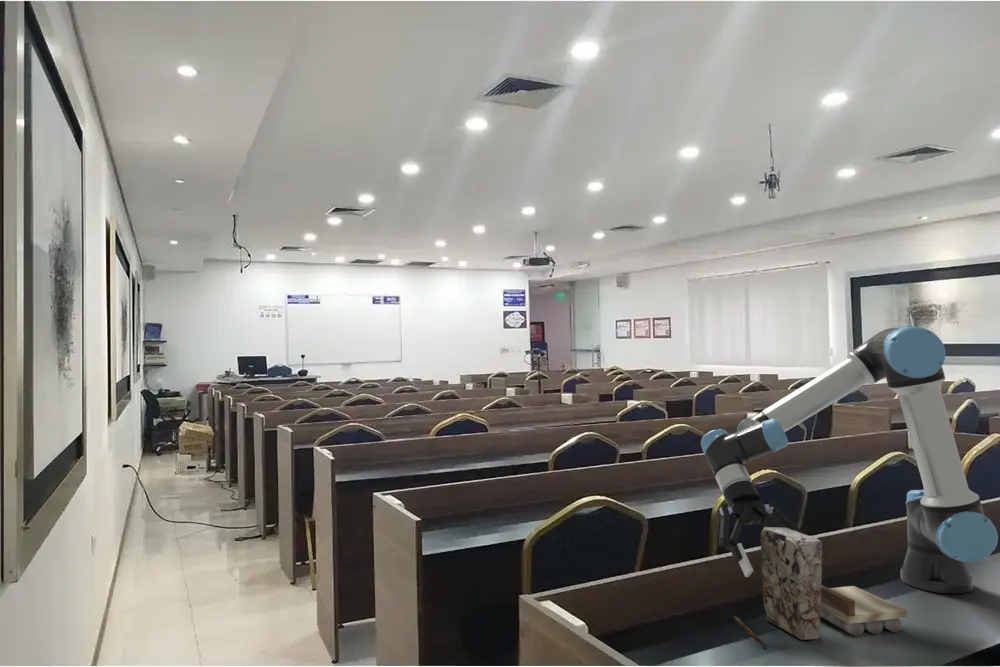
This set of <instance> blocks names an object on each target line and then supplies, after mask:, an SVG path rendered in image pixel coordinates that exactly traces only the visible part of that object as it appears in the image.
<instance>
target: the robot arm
mask: <svg viewBox="0 0 1000 667" xmlns="http://www.w3.org/2000/svg"><path fill="white" fill-rule="evenodd" d="M945 360H946V347H945V345H944V343H943V341H942V340H941V338H940V337H939V336H938V335H937V334H936V333H935V332H934V331H932V330H929V329H928V328H926V327H925V328H924V327H920V326H916V325H907V326H905V325H904V326H900V327H891V328H887V329H883V330H881V331H879V332H877V333H876V334H875V335H873V336H872V337H870V338H869V339H867V340H866V341H865V342H863V343H862V344H860V345H859V346H857V347H856V348H854V349H853V350H851V351H850V352H848V353H847V357H846V359H845V360H842V362H840V363H838V364H836V365H834V366H833V367H831V368H830V369H828V370H827V371H825V372H823V373H822V374H820V375H819V376H817V377H815V378H814V379H812V380H811V381H809V382H807V383H805V384H804V385H802V386H800V387H799V388H796V390H794V391H792V392H791V393H789V394H787V395H786V396H784V397H783V398H781V399H780V400H778V401H776V402H774V403H772V404H771V405H770V406H768V407H765V409H763V410H762V411H760V412H758V413H756V414H755V415H753V416H752V417H747V418H745V419H743V420H741V421H740V422H739V424H738V426H737V429H736V432H734V433H731V434H729V432H728V431H727V430H726V429H725V430H724V429H723V428H719V429H713V430H710V431H708V432H706V433H705V434H704V435H703V436H702V438H701V440H700V447H701V448H702V452H703V455H704V456H705V459H706V461H707V464H708V465H709V467H710V469H711V471H712V473H713V476H714V478H715V480H716V482H717V484H718V486H719V489H720V491H721V493H722V496H723V498H724V500H725V502H726V504H727V505H726V504H725V503H723V504H722V505H721V507H720V508H719V509H718V515H719V517H720V523H719V524H720V525H719V536H718V537H719V538H718V546H719V547H721V548H724V547H725V549H726V550H727V551H728V552H730V553H731V555H732V556H733V559H734V561H735V562H738V563H739V566H740V569H741V570H742V572H743V575H744V578H749V577H750V576H751V575H752V573H753V572H754V568H753V566H752V564H751V562H750V559H749V558H748V555H747V553H746V552H745V549H744V547H743V543H741V542H739V543H738V540H739V537H740V535H741V532H742V528H743V526H744V525H746V526H751V525H753V526H754V525H755V526H756V525H760V526H762V527H763V528H764V527H782V528H789V529H791V530H795V531H797V532H799V533H802V534H805V533H804V531H803V530H802V529H801V528H800V527H799V526H797V525H796V524H795V523H794V521H792V520H791V519H790V518H789V517H788V516H787V515H786V514H785V513H784V512H783V511H782V510H781V509H779V507H778V506H777V504H776V503H775V501H772V500H771V501H770V502H769V503H768V504H767V503H766V504H765V503H763V502H762V500H761V499H760V493H759V491H758V490H757V488H756V486H755V484H754V483H753V480H752V478H751V476H750V474H749V472H748V471H747V468H746V466H745V463H748V462H750V461H752V460H756V459H759V458H761V457H764V456H766V455H769V454H771V453H776V452H778V451H780V450H781V449H784V448H786V447H787V446H788V444H789V440H788V436H787V435H786V432H788V431H789V430H791V429H792V428H794V427H796V426H797V425H799V424H801V423H802V422H804V421H806V420H807V419H809V418H810V417H811V418H812V416H814V415H816V414H817V413H819V412H821V411H822V410H824V409H825V408H828V407H829V406H831V405H832V404H835V403H836V402H838V401H839V400H841V399H843V398H844V397H846V396H847V395H849V394H851V393H853V392H854V391H856V390H858V389H859V388H861V387H863V386H865V385H866V384H867V385H874V384H876V383H877V382H880V381H882V380H883V379H886V383H887V386H888V390H891V391H893V392H895V393H896V394H897V395H898V399H899V403H900V406H901V410H902V413H903V416H904V420H905V425H906V429H907V431H908V435H909V438H910V443H911V446H912V449H913V450H912V451H913V454H914V457H915V460H916V463H917V467H918V471H919V474H920V475H919V476H920V479H921V481H922V485H923V489H911V490H909V491H908V492H907V493H906V501H905V505H906V520H907V521H906V525H907V526H906V528H907V530H906V531H907V533H906V534H907V550H906V554H905V557H904V560H903V564H902V566H901V568H900V580H901V582H903V583H904V584H906V585H908V586H910V587H913V588H916V589H920V590H924V591H927V592H931V593H932V592H933V593H939V594H940V593H941V594H947V593H951V594H952V595H955V594H956V593H963V594H965V593H964V592H968V593H970V592H969V591H971V590H972V589H973V590H974V581H973V577H972V576H971V574H970V572H969V568H968V564H967V563H976V562H980V561H983V560H985V559H987V558H989V556H991V554H992V553H993V552H994V550H996V547H997V546H998V542H999V534H998V530H997V528H996V526H995V525H994V523H993V522H992V520H991V519H990V518H989V517H987V516H985V513H984V510H983V506H982V502H981V498H980V496H979V494H977V493H975V492H974V491H972V490H971V489H970V488H969V484H968V482H967V479H966V478H967V477H966V475H965V472H964V468H963V464H962V461H961V457H960V453H959V450H958V447H957V443H956V440H955V436H954V433H953V428H952V425H951V423H950V419H949V415H948V411H947V408H946V405H945V404H946V403H945V401H944V398H943V393H942V390H941V386H942V384H943V383H944V381H945V380H946V376H945V372H944V369H943V365H944V363H945ZM730 515H732V516H733V517H735V518H736V521H735V524H734V528H733V530H732V532H731V534H730V533H729V532H730V531H729V530H730V517H731V516H730ZM764 518H765V519H764ZM729 534H730V537H729ZM973 590H972V591H973ZM972 591H971V592H972ZM953 593H955V594H953ZM951 594H950V595H951ZM956 595H957V594H956Z"/></svg>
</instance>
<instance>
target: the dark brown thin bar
mask: <svg viewBox="0 0 1000 667" xmlns="http://www.w3.org/2000/svg"><path fill="white" fill-rule="evenodd" d="M733 620H734V621H736V622H737V624H739V626H741V628H742V629H744V631H745V632H747V634H749V635H750V636H751V637H752V639H753V640H755V641H756V643H758V642H759V643H760V644H761V645H762V646H763V647H766V648H767V645H766V644H765V642H764V641H763V640H762V639H761V638H759V636H757V635H756V634H755V633H754V632H753V631H752V630H751V629H750V628H749V627H748V626H747V624H745V623H744V622H743V621H742V620H741V619H740V618H739V617H738V616H737V615H733ZM759 643H758V644H759ZM760 644H759V645H760ZM761 645H760V646H761ZM762 646H761V647H762ZM763 647H762V648H763Z"/></svg>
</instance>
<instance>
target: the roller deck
mask: <svg viewBox="0 0 1000 667" xmlns="http://www.w3.org/2000/svg"><path fill="white" fill-rule="evenodd" d="M905 618H908V609H906V608H903V607H901V606H899V605H897V604H894V603H892V602H890V601H888V600H886V599H884V598H882V597H880V596H877V595H874V594H873V593H871V592H869V591H866V590H863V589H862V588H859V587H857V586H856V585H850V586H849V585H848V586H839V587H837V586H836V587H830V588H829V587H827V586H825V585H823V584H821V610H820V619H823V620H825V621H826V622H828V623H830V624H832V625H834V626H835V627H837V628H839V629H842V631H845V632H847V633H848V634H850V635H852V636H854V637H856V638H859V637H861V636H863V634H864V632H865V631H867V632H869V633H871V634H873V635H880V634H881V633H882V631H883V630H884V629H886V630H888V631H890V632H892V633H898V632H899V631H900V630H901V628H902V621H901V619H905Z"/></svg>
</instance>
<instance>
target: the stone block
mask: <svg viewBox="0 0 1000 667" xmlns="http://www.w3.org/2000/svg"><path fill="white" fill-rule="evenodd" d="M760 554H761V579H762V592H763V594H762V595H763V596H762V599H763V606H764V609H765V614H766V621H768V622H769V623H771V624H773V625H775V626H776V627H778V628H780V629H782V630H783V631H785V632H787V633H788V634H790V635H792V636H794V637H795V638H797V639H799V640H800V641H801V640H804V641H805V640H806V641H808V640H818V638H819V639H820V628H821V626H820V625H821V617H820V610H821V585H822V580H823V578H822V577H823V576H822V574H823V572H822V570H823V568H822V567H823V566H822V563H823V545H822V541H821V540H819V539H818V538H816V537H813V536H810V535H808V534H805V533H804V534H802V533H799V532H797V531H795V530H791V529H789V528H782V527H766V526H765V527H764V526H763V529H762V530H761V533H760Z"/></svg>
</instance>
